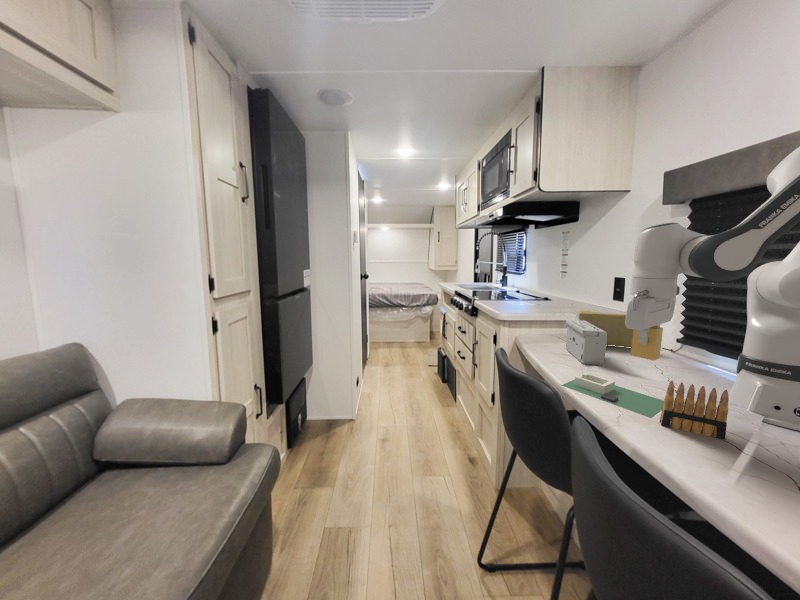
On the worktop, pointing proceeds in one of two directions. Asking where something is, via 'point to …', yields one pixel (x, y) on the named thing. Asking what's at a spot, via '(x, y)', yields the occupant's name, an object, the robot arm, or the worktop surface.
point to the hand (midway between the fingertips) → (647, 342)
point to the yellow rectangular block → (650, 349)
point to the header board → (615, 394)
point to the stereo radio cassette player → (586, 341)
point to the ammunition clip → (695, 411)
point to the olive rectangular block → (610, 326)
